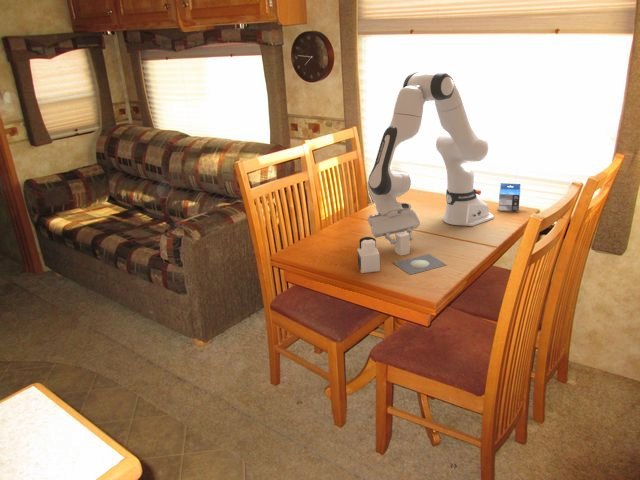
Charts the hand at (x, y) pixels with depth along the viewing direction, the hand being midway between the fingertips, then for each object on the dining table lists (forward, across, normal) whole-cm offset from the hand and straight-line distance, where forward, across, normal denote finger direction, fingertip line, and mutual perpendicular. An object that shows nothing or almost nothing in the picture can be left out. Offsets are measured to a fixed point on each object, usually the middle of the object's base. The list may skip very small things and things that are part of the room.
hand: (402, 241), depth 207 cm
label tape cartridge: (-8, +66, +15) cm, 68 cm away
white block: (+3, 0, +3) cm, 5 cm away
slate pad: (+12, 0, -6) cm, 13 cm away
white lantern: (+8, -18, -1) cm, 20 cm away
